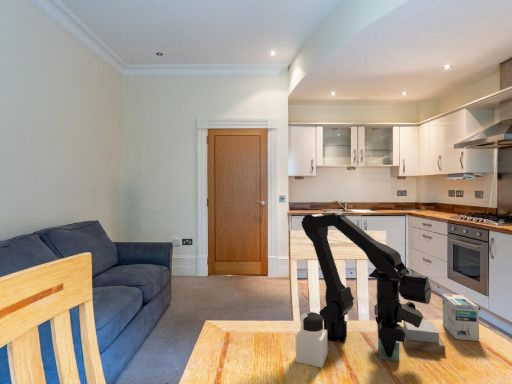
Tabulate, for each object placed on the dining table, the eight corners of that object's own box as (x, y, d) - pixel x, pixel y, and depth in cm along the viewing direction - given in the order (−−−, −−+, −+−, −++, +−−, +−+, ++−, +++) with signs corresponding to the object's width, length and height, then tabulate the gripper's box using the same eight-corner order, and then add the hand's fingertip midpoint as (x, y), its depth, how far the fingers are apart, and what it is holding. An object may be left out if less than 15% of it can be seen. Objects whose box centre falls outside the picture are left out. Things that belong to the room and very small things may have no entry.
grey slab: (407, 339, 89) (407, 329, 89) (403, 327, 97) (403, 318, 97) (439, 343, 87) (438, 332, 87) (432, 331, 95) (431, 321, 95)
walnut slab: (405, 351, 89) (405, 340, 89) (400, 335, 98) (400, 326, 98) (445, 356, 86) (445, 345, 86) (436, 339, 95) (436, 330, 95)
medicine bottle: (327, 355, 86) (327, 312, 86) (322, 368, 79) (321, 322, 79) (303, 349, 89) (302, 308, 89) (295, 362, 82) (295, 317, 82)
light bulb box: (480, 341, 92) (479, 306, 92) (455, 339, 94) (455, 304, 94) (463, 326, 103) (463, 294, 103) (441, 324, 104) (441, 293, 104)
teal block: (379, 358, 84) (379, 340, 84) (378, 349, 89) (378, 332, 89) (399, 361, 82) (399, 342, 82) (397, 352, 87) (396, 334, 87)
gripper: (427, 310, 74) (428, 375, 74) (413, 287, 92) (414, 339, 92) (378, 306, 77) (378, 367, 78) (374, 284, 95) (374, 334, 95)
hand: (388, 351), depth 85 cm, fingers open, 6 cm apart
